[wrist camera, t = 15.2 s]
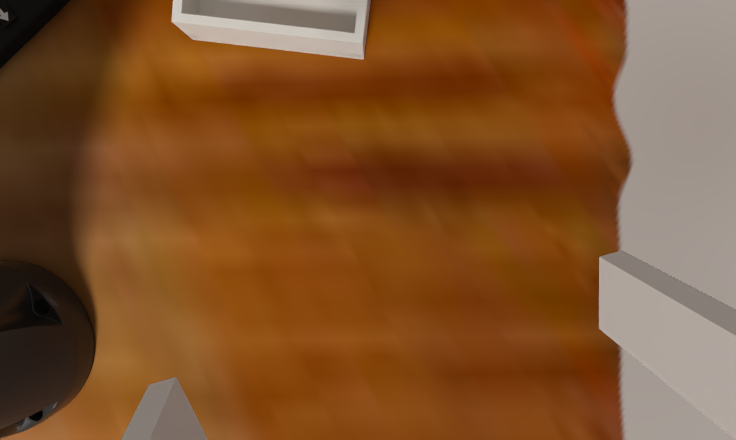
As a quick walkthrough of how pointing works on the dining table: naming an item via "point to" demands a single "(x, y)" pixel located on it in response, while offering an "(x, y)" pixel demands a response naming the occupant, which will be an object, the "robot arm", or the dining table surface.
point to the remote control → (23, 22)
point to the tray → (279, 24)
